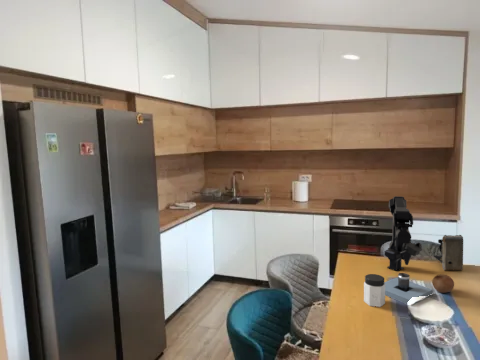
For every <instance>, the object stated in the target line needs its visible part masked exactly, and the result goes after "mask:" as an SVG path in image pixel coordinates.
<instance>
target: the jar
mask: <svg viewBox="0 0 480 360" xmlns="http://www.w3.org/2000/svg"><path fill="white" fill-rule="evenodd" d="M384 282H385V277H384V276H382V275H380V274H376V273H367V274H365V276H364V282H363V302H364V303H366V304H367V306H369V307H375V306H376V308H381V307H383V306H384V305H385V304H386V295H385V283H384Z"/></svg>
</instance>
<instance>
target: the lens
mask: <svg viewBox="0 0 480 360" xmlns="http://www.w3.org/2000/svg"><path fill="white" fill-rule="evenodd" d="M397 277H398V289H399V290H402V291H404V292H407V291H409V281H410V278H411V276H410V274H409V273H406V272H399V273H398V274H397Z"/></svg>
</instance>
